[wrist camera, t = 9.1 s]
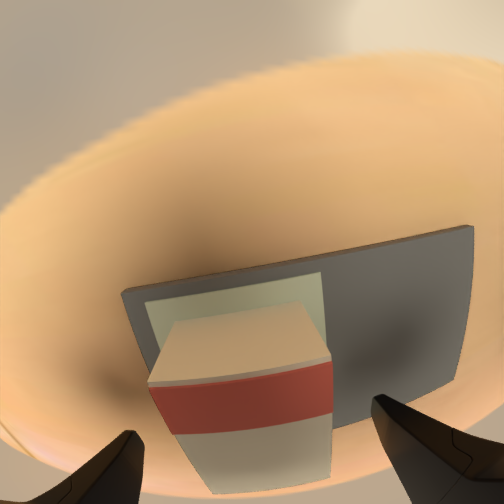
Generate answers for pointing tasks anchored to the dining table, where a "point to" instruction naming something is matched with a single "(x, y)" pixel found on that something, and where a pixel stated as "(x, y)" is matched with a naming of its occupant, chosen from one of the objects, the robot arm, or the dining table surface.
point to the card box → (249, 397)
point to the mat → (344, 312)
